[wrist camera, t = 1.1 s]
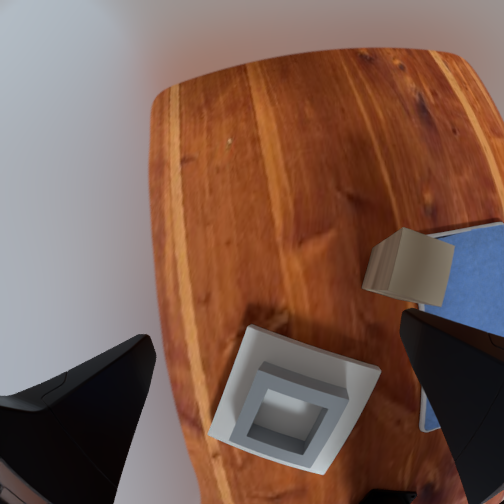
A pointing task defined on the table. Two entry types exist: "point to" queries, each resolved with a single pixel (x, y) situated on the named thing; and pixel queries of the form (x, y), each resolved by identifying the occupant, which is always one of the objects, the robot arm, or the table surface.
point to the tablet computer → (471, 289)
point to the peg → (410, 268)
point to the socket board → (291, 400)
